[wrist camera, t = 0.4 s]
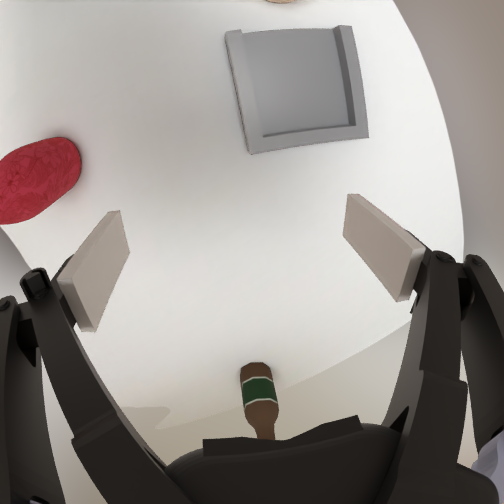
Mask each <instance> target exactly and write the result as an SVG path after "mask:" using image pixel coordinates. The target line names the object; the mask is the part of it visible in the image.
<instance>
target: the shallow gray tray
mask: <svg viewBox="0 0 504 504" xmlns="http://www.w3.org/2000/svg"><path fill="white" fill-rule="evenodd" d="M225 41H226V45H227V50H228V55H229V59H230V64H231V69H232V74H233V78H234V83H235V88H236V93H237V98H238V102H239V107H240V112H241V117H242V122H243V127H244V132H245V137H246V142H247V147H248V151H249V153H250V154H251V155H252V154H257V153H262V152H268V151H273V150H279V149H285V148H291V147H297V146H304V145H311V144H318V143H326V142H334V141H342V140H352V139H362V138H369V133H368V122H367V113H366V104H365V97H364V89H363V83H362V76H361V70H360V64H359V59H358V54H357V49H356V44H355V39H354V35H353V30H352V26H345V25H339V26H337V27H335V28H333V29H284V30H270V31H260V32H251V33H244V34H242V32H241V30H234V31H228V32H226V33H225Z"/></svg>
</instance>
